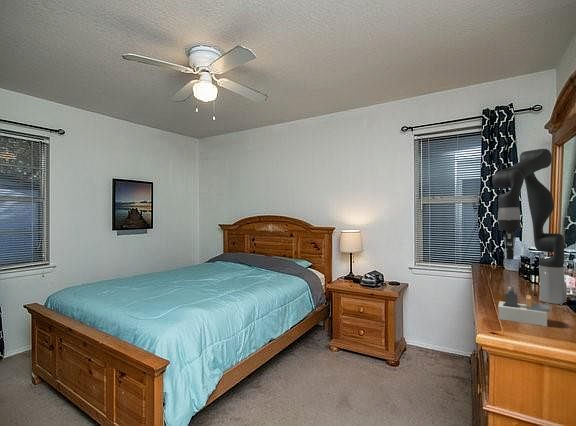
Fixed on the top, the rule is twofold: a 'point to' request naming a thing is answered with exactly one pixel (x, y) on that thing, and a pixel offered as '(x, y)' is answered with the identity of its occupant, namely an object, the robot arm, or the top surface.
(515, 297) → the plug
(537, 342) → the top surface
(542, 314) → the socket block
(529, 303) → the shutter
